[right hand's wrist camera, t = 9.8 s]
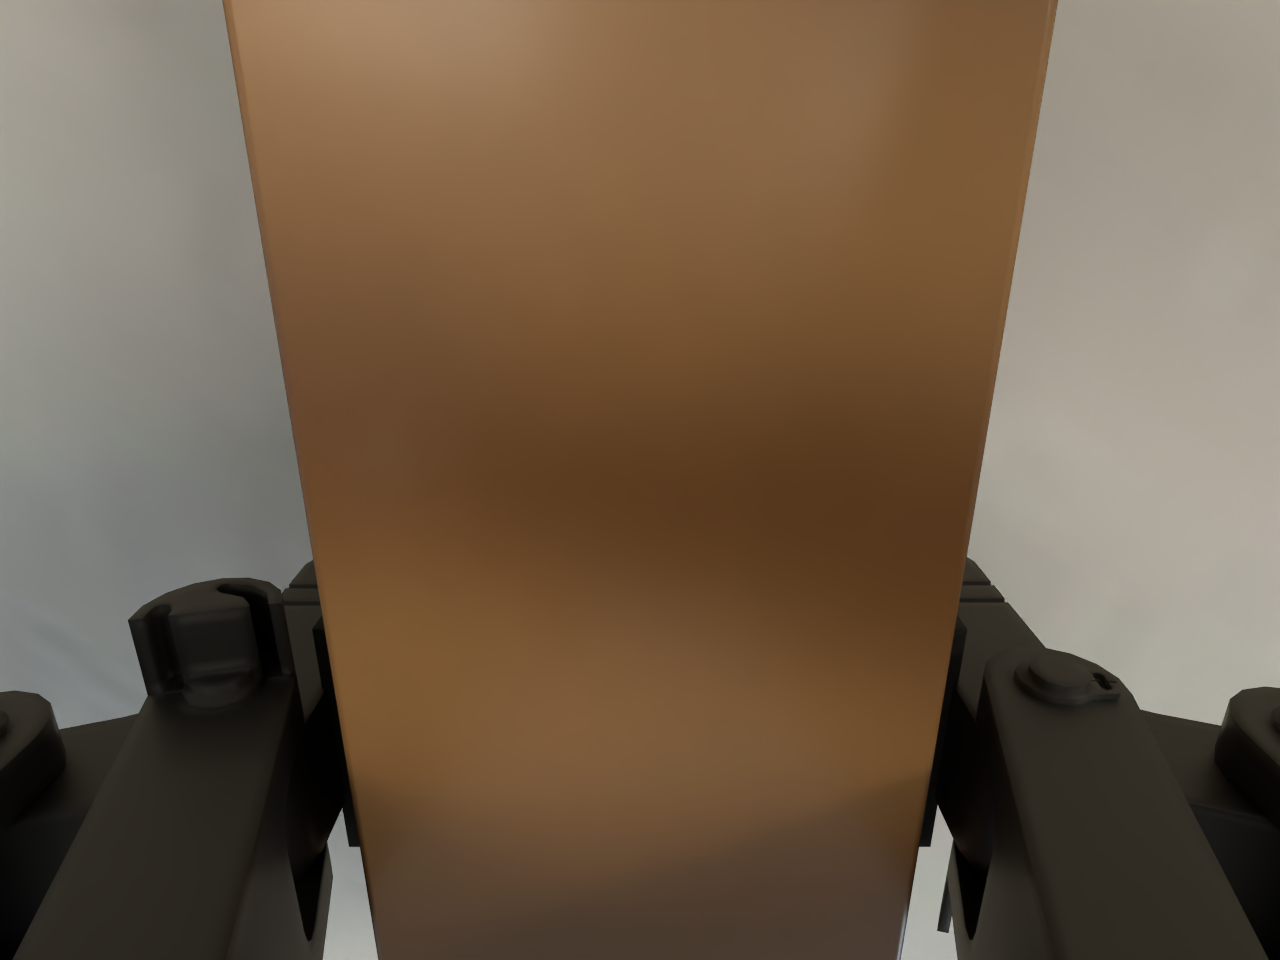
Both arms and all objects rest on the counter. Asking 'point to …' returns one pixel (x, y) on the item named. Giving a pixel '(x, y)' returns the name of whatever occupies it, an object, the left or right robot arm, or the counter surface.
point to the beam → (639, 443)
